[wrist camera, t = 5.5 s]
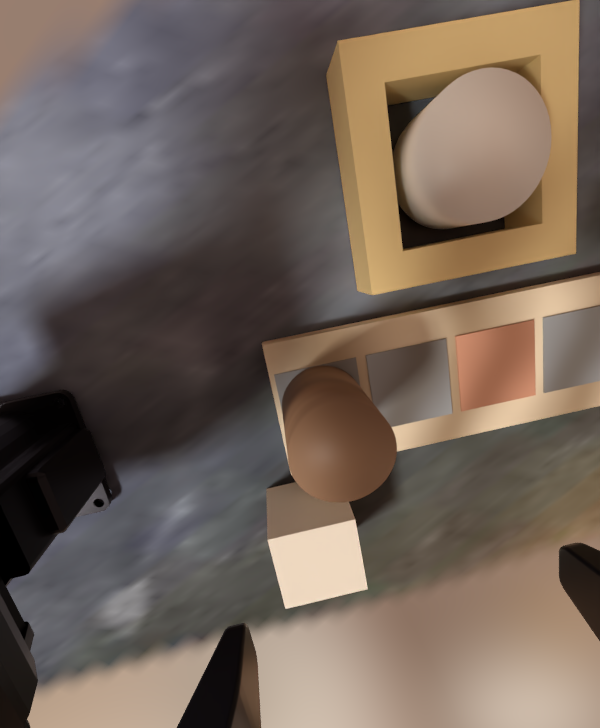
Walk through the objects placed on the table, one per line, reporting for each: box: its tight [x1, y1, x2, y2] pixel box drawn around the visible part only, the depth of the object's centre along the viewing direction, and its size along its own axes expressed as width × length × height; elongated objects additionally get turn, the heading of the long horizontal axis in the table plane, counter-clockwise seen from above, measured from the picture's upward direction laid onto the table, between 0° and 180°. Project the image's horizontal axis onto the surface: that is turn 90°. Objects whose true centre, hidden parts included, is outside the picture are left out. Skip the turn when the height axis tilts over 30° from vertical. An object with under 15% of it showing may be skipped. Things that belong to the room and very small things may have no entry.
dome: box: [393, 67, 551, 229], centre depth 15 cm, size 5×5×3 cm
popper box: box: [326, 0, 579, 295], centre depth 16 cm, size 9×9×2 cm
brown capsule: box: [282, 366, 397, 503], centre depth 16 cm, size 4×4×5 cm
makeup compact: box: [262, 272, 600, 475], centre depth 19 cm, size 18×7×1 cm, turn 101°
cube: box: [267, 482, 368, 609], centre depth 19 cm, size 4×4×4 cm
